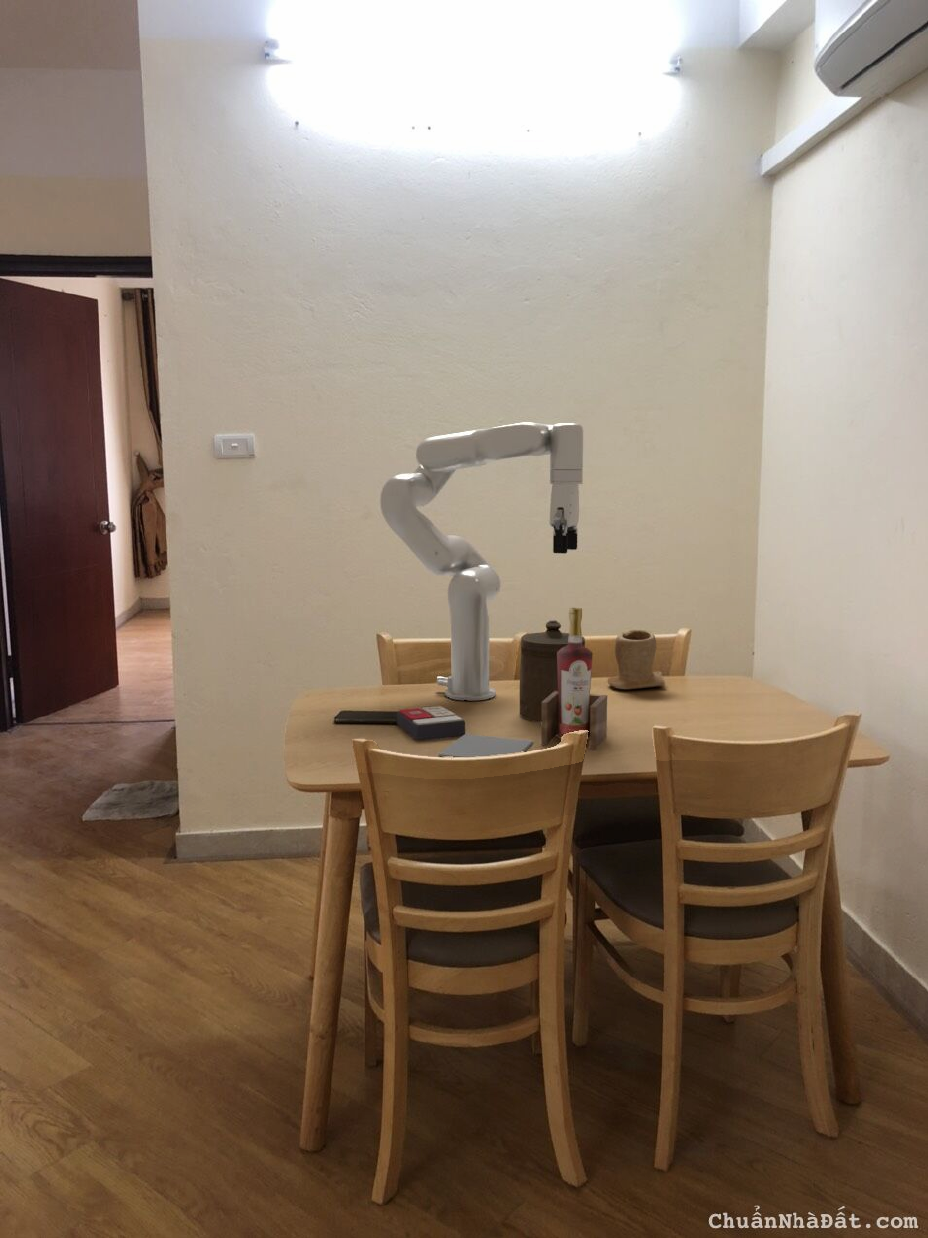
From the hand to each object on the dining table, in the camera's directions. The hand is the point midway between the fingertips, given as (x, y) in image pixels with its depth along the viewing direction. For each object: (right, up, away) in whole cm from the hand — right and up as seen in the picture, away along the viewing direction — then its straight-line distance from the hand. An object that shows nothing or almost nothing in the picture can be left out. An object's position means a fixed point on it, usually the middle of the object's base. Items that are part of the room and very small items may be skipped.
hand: (565, 551), depth 226 cm
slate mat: (-19, -43, -31) cm, 56 cm away
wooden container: (-4, -38, -4) cm, 39 cm away
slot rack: (-1, -41, -25) cm, 48 cm away
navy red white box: (-31, -41, -16) cm, 54 cm away
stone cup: (+21, -34, +22) cm, 45 cm away
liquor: (-1, -42, -25) cm, 49 cm away
